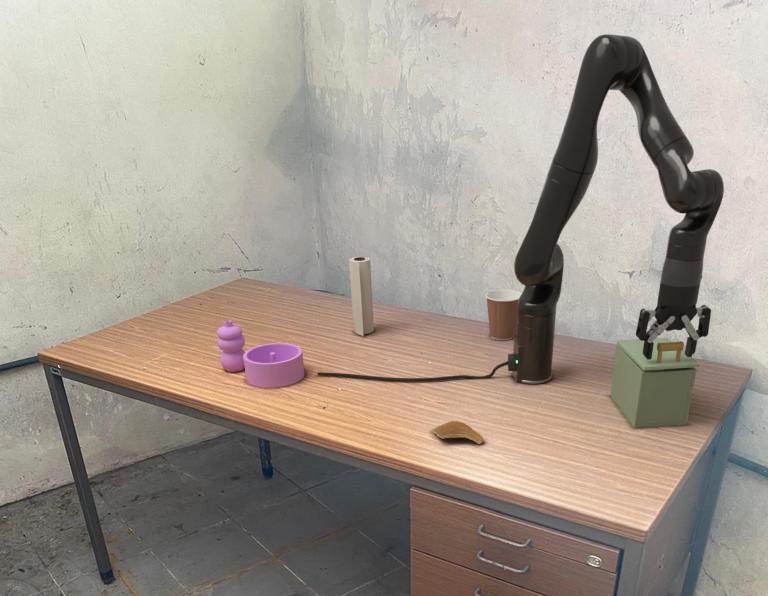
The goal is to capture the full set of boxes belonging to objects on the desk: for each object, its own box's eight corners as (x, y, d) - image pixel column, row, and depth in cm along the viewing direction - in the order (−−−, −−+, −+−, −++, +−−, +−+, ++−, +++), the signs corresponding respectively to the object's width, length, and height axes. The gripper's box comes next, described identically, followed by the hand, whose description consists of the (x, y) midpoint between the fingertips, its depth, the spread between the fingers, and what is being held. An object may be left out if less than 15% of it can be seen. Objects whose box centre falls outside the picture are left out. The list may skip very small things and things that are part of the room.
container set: (315, 370, 204) (310, 322, 197) (281, 391, 193) (275, 341, 186) (242, 357, 215) (235, 311, 208) (206, 376, 204) (197, 328, 197)
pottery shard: (485, 444, 164) (486, 434, 162) (445, 452, 162) (445, 441, 160) (467, 424, 172) (467, 414, 171) (428, 431, 170) (428, 421, 169)
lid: (699, 367, 159) (702, 343, 157) (643, 370, 159) (646, 347, 156) (666, 340, 175) (669, 319, 172) (616, 343, 175) (618, 322, 172)
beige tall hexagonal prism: (362, 326, 232) (357, 254, 220) (378, 329, 229) (374, 257, 217) (347, 333, 227) (342, 260, 215) (363, 337, 224) (359, 263, 212)
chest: (686, 424, 167) (696, 369, 160) (634, 428, 167) (642, 373, 160) (658, 392, 182) (666, 340, 175) (610, 395, 182) (616, 343, 175)
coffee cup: (526, 333, 220) (528, 291, 214) (511, 344, 213) (513, 302, 207) (494, 328, 225) (495, 287, 219) (478, 339, 218) (479, 297, 212)
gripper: (708, 272, 155) (694, 348, 164) (638, 276, 155) (628, 352, 163) (724, 283, 148) (708, 361, 157) (651, 287, 148) (640, 365, 157)
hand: (667, 357), depth 160 cm, fingers open, 8 cm apart
